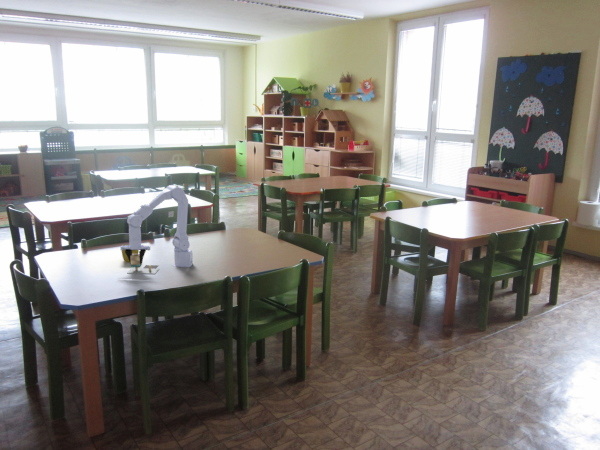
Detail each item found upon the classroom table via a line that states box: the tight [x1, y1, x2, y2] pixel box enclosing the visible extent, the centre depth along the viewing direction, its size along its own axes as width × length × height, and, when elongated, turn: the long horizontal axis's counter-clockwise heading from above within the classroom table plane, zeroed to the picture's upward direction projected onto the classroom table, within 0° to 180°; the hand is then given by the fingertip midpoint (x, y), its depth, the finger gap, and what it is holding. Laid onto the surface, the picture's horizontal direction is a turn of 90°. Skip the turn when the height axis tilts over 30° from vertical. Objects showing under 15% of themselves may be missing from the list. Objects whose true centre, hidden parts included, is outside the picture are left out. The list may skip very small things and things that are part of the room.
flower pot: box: [120, 244, 140, 264], centre depth 268 cm, size 9×9×9 cm
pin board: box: [127, 264, 160, 275], centre depth 251 cm, size 14×8×4 cm, turn 90°
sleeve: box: [130, 253, 143, 268], centre depth 250 cm, size 4×4×6 cm
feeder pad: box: [142, 264, 160, 269], centre depth 259 cm, size 7×6×1 cm
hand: (136, 263), depth 250 cm, fingers closed on sleeve, 4 cm apart
